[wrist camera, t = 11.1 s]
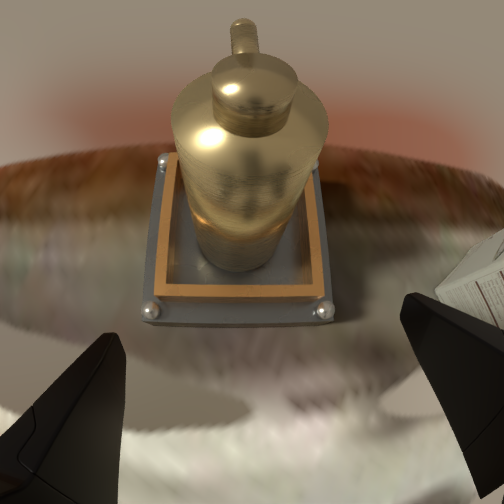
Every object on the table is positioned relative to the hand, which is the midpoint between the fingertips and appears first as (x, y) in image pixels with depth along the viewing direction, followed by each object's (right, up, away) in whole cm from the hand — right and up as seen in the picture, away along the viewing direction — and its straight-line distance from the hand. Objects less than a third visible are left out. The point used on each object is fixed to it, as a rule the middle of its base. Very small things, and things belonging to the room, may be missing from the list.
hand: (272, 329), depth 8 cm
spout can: (-1, +3, +10) cm, 10 cm away
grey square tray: (-2, +3, +13) cm, 13 cm away
